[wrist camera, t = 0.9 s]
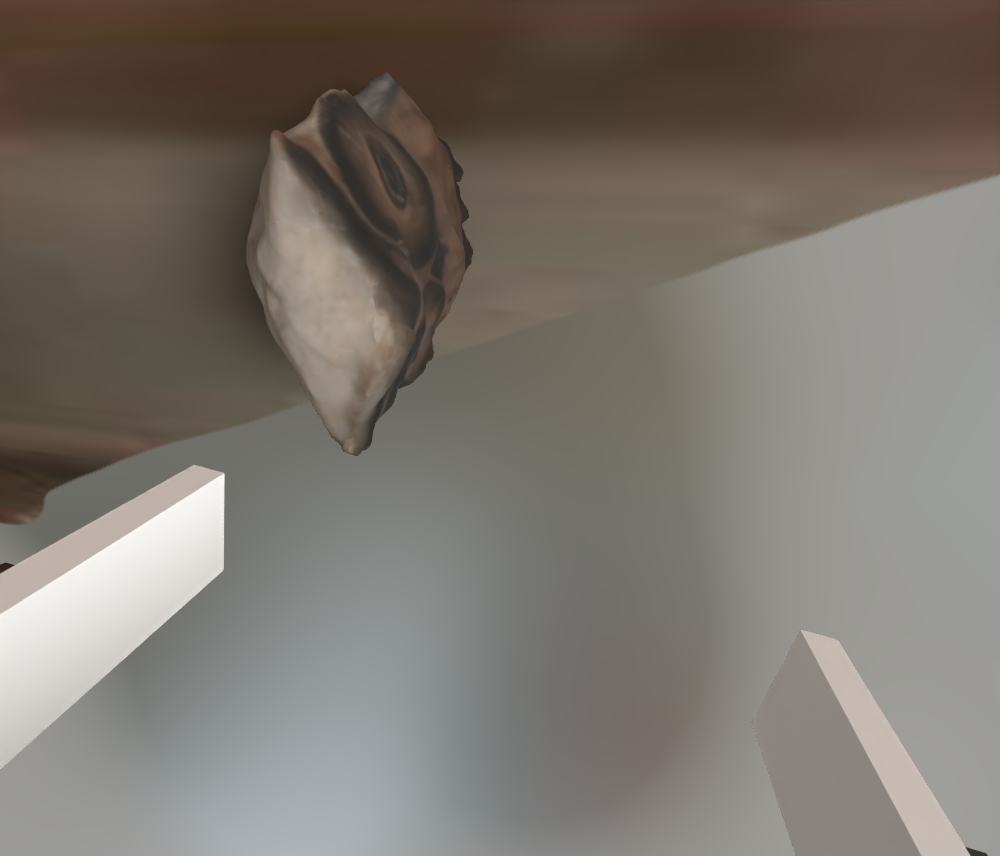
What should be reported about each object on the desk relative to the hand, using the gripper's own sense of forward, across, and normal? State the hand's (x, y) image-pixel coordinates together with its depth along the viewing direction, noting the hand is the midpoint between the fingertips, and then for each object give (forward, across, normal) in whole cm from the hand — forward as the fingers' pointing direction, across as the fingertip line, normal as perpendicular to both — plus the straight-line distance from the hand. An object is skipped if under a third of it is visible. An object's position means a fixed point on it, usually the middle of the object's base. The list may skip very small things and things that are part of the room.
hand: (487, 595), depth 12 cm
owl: (+28, -14, +7) cm, 32 cm away
